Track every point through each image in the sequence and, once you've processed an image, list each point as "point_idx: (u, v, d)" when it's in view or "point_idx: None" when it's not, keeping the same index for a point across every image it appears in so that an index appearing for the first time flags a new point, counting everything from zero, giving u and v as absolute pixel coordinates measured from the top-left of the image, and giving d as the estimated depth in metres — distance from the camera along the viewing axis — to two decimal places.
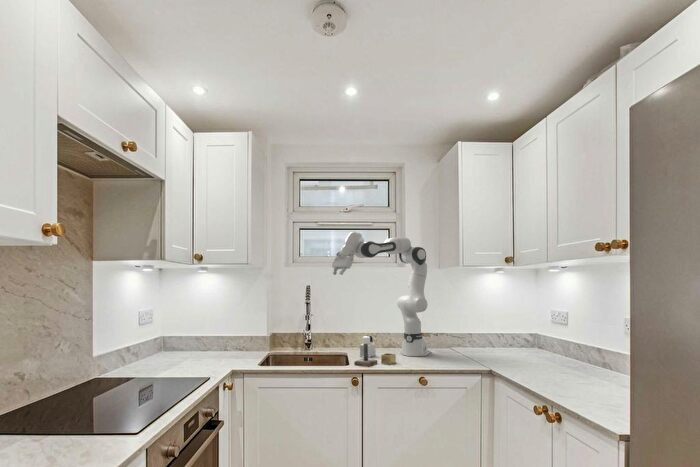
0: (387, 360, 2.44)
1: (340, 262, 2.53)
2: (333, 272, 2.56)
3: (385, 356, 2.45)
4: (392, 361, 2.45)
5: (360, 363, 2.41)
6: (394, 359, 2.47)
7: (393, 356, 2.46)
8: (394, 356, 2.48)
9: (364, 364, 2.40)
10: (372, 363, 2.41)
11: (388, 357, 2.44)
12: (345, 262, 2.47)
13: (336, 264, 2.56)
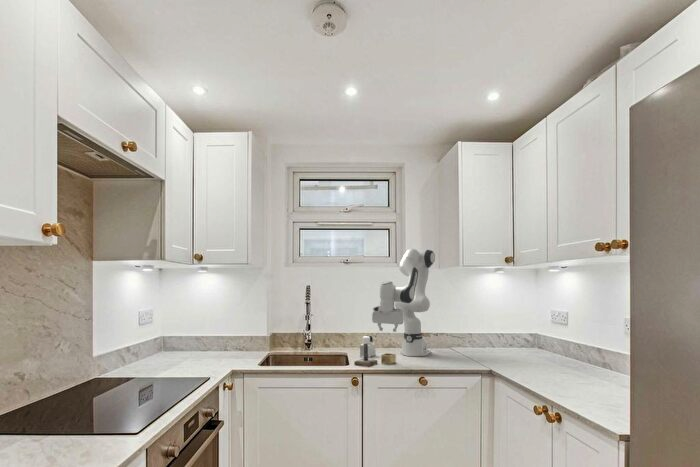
0: (387, 360, 2.44)
1: (386, 319, 2.48)
2: (379, 329, 2.52)
3: (385, 356, 2.45)
4: (392, 361, 2.45)
5: (360, 363, 2.41)
6: (394, 359, 2.47)
7: (393, 356, 2.46)
8: (394, 356, 2.48)
9: (364, 364, 2.40)
10: (372, 363, 2.41)
11: (388, 357, 2.44)
12: (397, 320, 2.44)
13: (381, 320, 2.51)
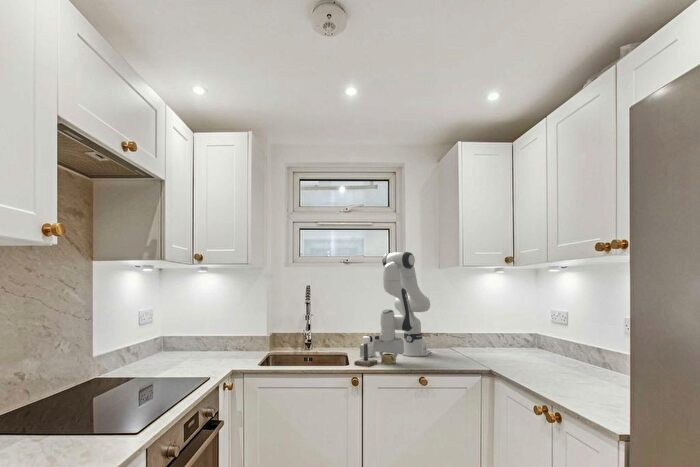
0: (387, 360, 2.44)
1: (387, 348, 2.47)
2: None
3: (385, 356, 2.45)
4: (392, 361, 2.45)
5: (360, 363, 2.41)
6: None
7: (393, 356, 2.46)
8: None
9: (364, 364, 2.40)
10: (372, 363, 2.41)
11: (388, 357, 2.44)
12: (398, 349, 2.43)
13: (381, 349, 2.49)
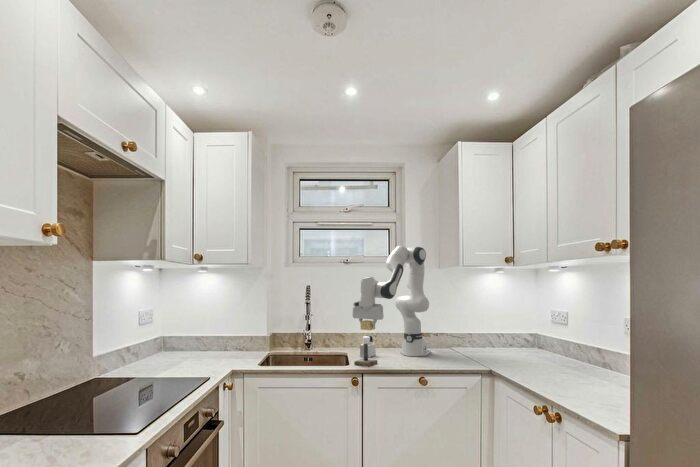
0: (366, 326, 2.44)
1: (367, 314, 2.46)
2: None
3: (364, 322, 2.45)
4: (371, 327, 2.44)
5: (360, 363, 2.41)
6: None
7: (372, 322, 2.46)
8: None
9: (364, 364, 2.40)
10: (372, 363, 2.41)
11: (367, 323, 2.44)
12: (377, 315, 2.42)
13: (361, 315, 2.48)
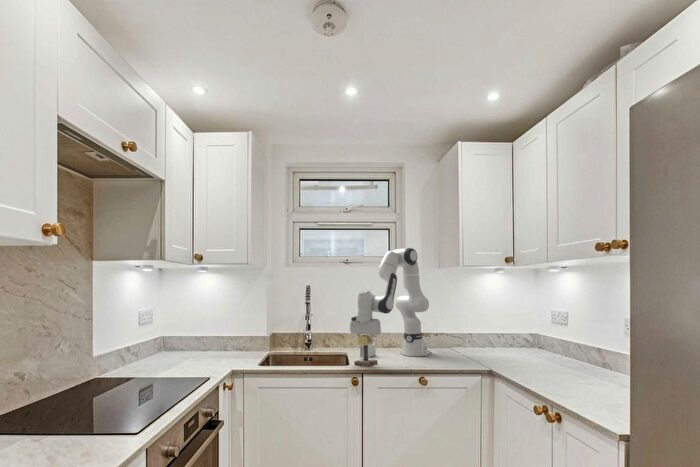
0: (364, 341, 2.43)
1: (364, 329, 2.45)
2: None
3: (362, 337, 2.44)
4: (369, 342, 2.43)
5: (360, 363, 2.41)
6: None
7: (370, 337, 2.45)
8: None
9: (364, 364, 2.40)
10: (372, 363, 2.41)
11: (365, 338, 2.43)
12: (374, 330, 2.41)
13: (358, 330, 2.47)
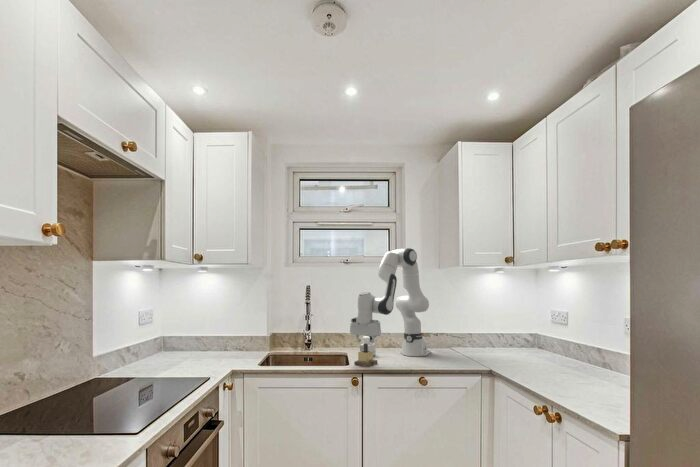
0: (364, 357, 2.42)
1: (364, 330, 2.45)
2: (357, 340, 2.48)
3: (362, 353, 2.43)
4: (369, 358, 2.42)
5: (360, 363, 2.41)
6: (371, 356, 2.45)
7: (370, 353, 2.44)
8: (371, 353, 2.45)
9: (364, 364, 2.40)
10: (372, 363, 2.41)
11: (365, 354, 2.42)
12: (374, 331, 2.41)
13: (359, 331, 2.47)
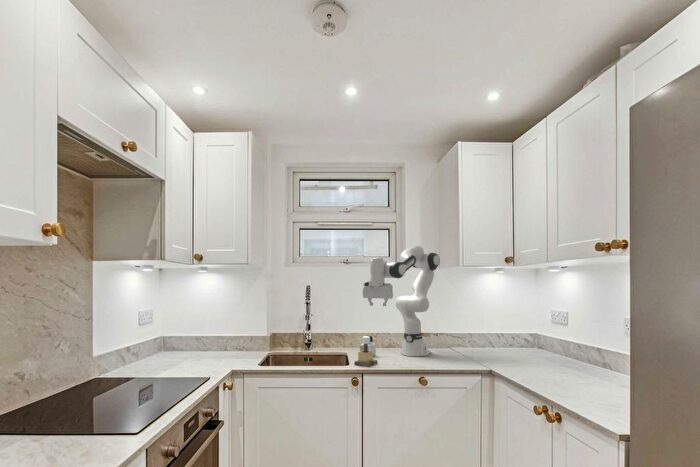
0: (364, 357, 2.42)
1: (377, 293, 2.52)
2: (370, 304, 2.56)
3: (362, 353, 2.43)
4: (369, 358, 2.42)
5: (360, 363, 2.41)
6: (371, 356, 2.45)
7: (370, 353, 2.44)
8: (371, 353, 2.45)
9: (364, 364, 2.40)
10: (372, 363, 2.41)
11: (365, 354, 2.42)
12: (387, 294, 2.49)
13: (371, 295, 2.55)
